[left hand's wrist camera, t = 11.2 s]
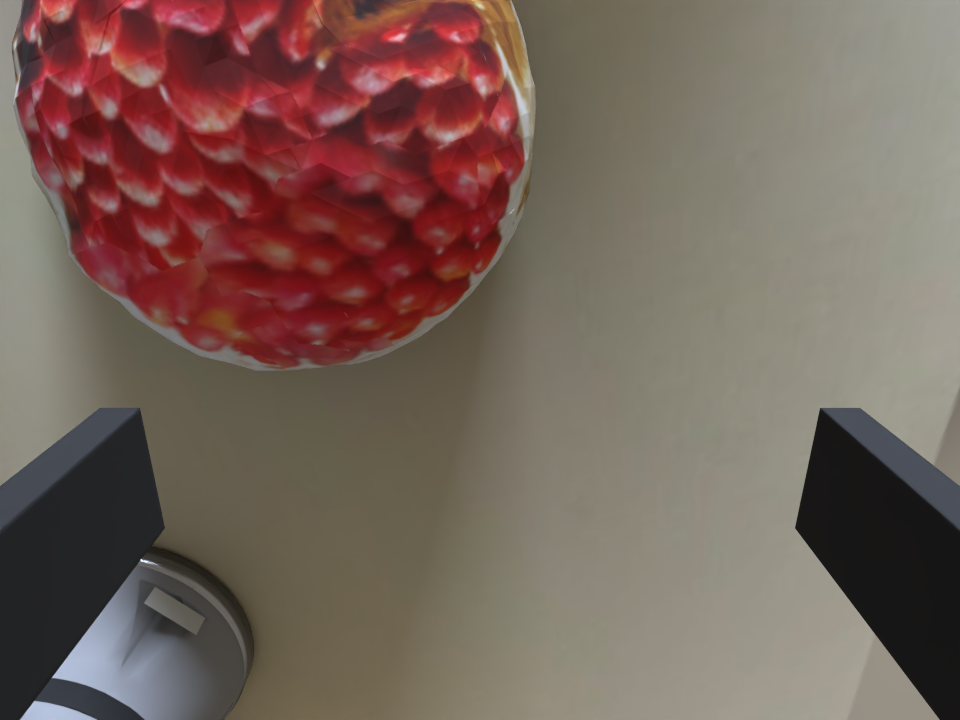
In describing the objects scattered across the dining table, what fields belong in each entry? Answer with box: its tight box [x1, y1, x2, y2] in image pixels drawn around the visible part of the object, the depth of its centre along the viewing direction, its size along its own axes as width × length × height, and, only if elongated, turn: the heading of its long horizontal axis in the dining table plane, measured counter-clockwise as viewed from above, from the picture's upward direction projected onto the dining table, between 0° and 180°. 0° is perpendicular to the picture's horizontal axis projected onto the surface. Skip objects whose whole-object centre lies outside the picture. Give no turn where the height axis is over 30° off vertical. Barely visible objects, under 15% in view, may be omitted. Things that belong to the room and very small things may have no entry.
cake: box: [12, 0, 536, 371], centre depth 26 cm, size 23×24×10 cm
